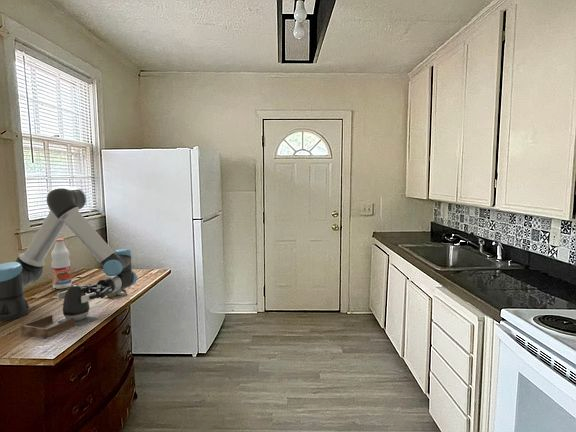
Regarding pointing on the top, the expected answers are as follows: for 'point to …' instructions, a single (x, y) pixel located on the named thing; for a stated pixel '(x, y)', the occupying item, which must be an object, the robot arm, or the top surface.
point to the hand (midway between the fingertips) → (69, 298)
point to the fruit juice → (60, 265)
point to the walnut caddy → (36, 330)
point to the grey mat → (81, 322)
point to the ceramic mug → (117, 293)
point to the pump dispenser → (75, 304)
